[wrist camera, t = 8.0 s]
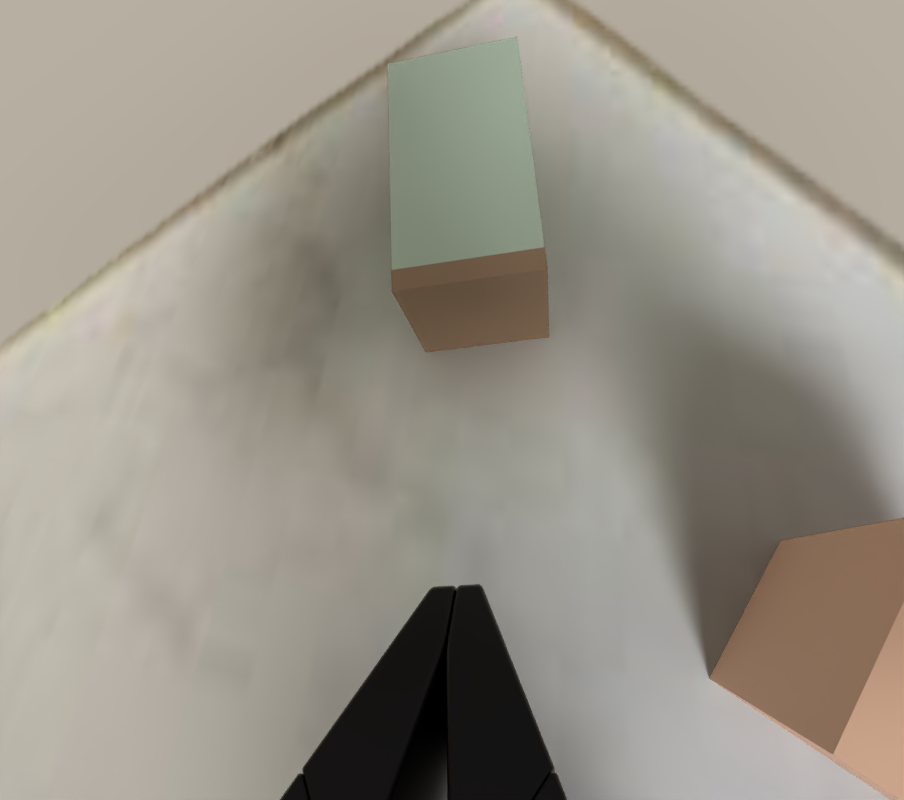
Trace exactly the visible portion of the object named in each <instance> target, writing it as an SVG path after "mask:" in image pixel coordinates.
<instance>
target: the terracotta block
mask: <svg viewBox="0 0 904 800" xmlns="http://www.w3.org/2000/svg"><path fill="white" fill-rule="evenodd" d="M709 679H711V680H712V681H714V682H715V683H717V684H718V685H720V686H721V687H723V688H724V689H726V690H727V691H729V692H730V693H732V694H733V695H735V696H736V697H738V698H739V699H741V700H742V701H744V702H745V703H747V704H748V705H750V706H751V707H753V708H754V709H756V710H757V711H759V712H760V713H762V714H763V715H765V716H766V717H768V718H769V719H771V720H772V721H773V722H775V723H776V724H778V725H779V726H781V727H782V728H784V729H785V730H787V731H788V732H790V733H791V734H793V735H794V736H796V737H797V738H799V739H800V740H802V741H803V742H805V743H806V744H808V745H809V746H811V747H812V748H814V749H815V750H817V751H818V752H820V753H821V754H823V755H824V756H826V757H827V758H829V759H830V760H832V761H833V762H835V763H836V764H838V765H839V766H841V767H842V768H844V769H845V770H847V771H848V772H850V773H851V774H853V775H854V776H856V777H857V778H859V779H860V780H862V781H863V782H865V783H866V784H867V785H869V786H870V787H872V788H873V789H875V790H876V791H878V792H879V793H881V794H883V795H884V796H886V797H887V798H889V799H890V800H904V518H902V519H897V520H891V521H886V522H880V523H875V524H869V525H864V526H858V527H853V528H847V529H842V530H836V531H831V532H825V533H820V534H814V535H809V536H803V537H798V538H792V539H787V540H781V541H780V543H779V545H778V547H777V549H776V551H775V553H774V554H773V556H772V558H771V560H770V562H769V564H768V566H767V568H766V570H765V572H764V574H763V576H762V578H761V579H760V581H759V583H758V585H757V587H756V589H755V591H754V593H753V595H752V597H751V599H750V601H749V603H748V604H747V606H746V608H745V610H744V612H743V614H742V616H741V618H740V620H739V622H738V624H737V626H736V628H735V630H734V631H733V633H732V635H731V637H730V639H729V641H728V643H727V645H726V647H725V649H724V651H723V653H722V655H721V656H720V658H719V660H718V662H717V664H716V666H715V668H714V670H713V672H712V674H711V676H710V678H709Z"/></svg>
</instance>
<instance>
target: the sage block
mask: <svg viewBox="0 0 904 800" xmlns="http://www.w3.org/2000/svg"><path fill="white" fill-rule="evenodd" d="M387 72H388V120H389V169H390V218H391V267H392V292H393V294H394V296H395V298H396V299H397V301H398V303H399V305H400V307H401V308H402V310H403V312H404V314H405V316H406V317H407V319H408V321H409V323H410V325H411V326H412V328H413V330H414V332H415V333H416V335H417V337H418V339H419V341H420V342H421V344H422V346H423V348H424V350H425V351H426V352H432V351H440V350H448V349H456V348H464V347H472V346H480V345H488V344H496V343H504V342H512V341H520V340H528V339H536V338H544V337H549V319H548V272H547V262H546V254H545V247H544V239H543V231H542V224H541V216H540V208H539V200H538V193H537V185H536V177H535V170H534V162H533V154H532V147H531V139H530V131H529V124H528V116H527V108H526V101H525V93H524V85H523V78H522V70H521V62H520V55H519V47H518V39H517V37H513V38H508V39H504V40H499V41H494V42H489V43H485V44H480V45H475V46H470V47H465V48H461V49H456V50H451V51H446V52H441V53H437V54H432V55H427V56H422V57H418V58H413V59H408V60H403V61H398V62H394V63H389V64H387Z"/></svg>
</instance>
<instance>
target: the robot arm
mask: <svg viewBox="0 0 904 800" xmlns="http://www.w3.org/2000/svg"><path fill="white" fill-rule="evenodd" d="M302 771H303V774H301V773H300V774H298V775H297V777H296V778H295V779H294V781H293V782H292V784H291V785H290V786H289V788H288V789H287V791H286V792H285V793H284V795H283V796H282V798H281V799H280V800H567V798H566V796H565V793H564V791H563V788H562V786H561V783H560V780H559V778H558V775H557V774H556V773H555V770H554V766H553V764H552V761H551V758H550V756H549V753H548V751H547V748H546V746H545V743H544V741H543V738H542V736H541V733H540V731H539V728H538V726H537V723H536V721H535V718H534V716H533V713H532V710H531V708H530V705H529V703H528V700H527V698H526V695H525V693H524V690H523V688H522V685H521V683H520V680H519V678H518V675H517V673H516V670H515V668H514V665H513V663H512V660H511V657H510V655H509V652H508V650H507V647H506V645H505V642H504V640H503V637H502V635H501V632H500V630H499V627H498V625H497V622H496V620H495V617H494V615H493V612H492V610H491V607H490V604H489V602H488V599H487V597H486V594H485V592H484V589H483V587H482V586H481V585H479V584H475V585H460V586H458V588H457V589H456V587H454V586H438V587H433V588H431V589H430V590H429V591H428V593H427V594H426V596H425V597H424V598H423V600H422V601H421V603H420V604H419V605H418V607H417V608H416V610H415V611H414V612H413V614H412V615H411V617H410V618H409V619H408V621H407V622H406V624H405V625H404V626H403V628H402V629H401V631H400V632H399V634H398V635H397V636H396V638H395V639H394V641H393V642H392V643H391V645H390V646H389V648H388V649H387V650H386V652H385V653H384V655H383V656H382V657H381V659H380V660H379V662H378V663H377V664H376V666H375V667H374V669H373V670H372V671H371V673H370V674H369V676H368V677H367V679H366V680H365V681H364V683H363V684H362V686H361V687H360V688H359V690H358V691H357V693H356V694H355V695H354V697H353V698H352V700H351V701H350V702H349V704H348V705H347V707H346V708H345V709H344V711H343V712H342V714H341V715H340V716H339V718H338V719H337V721H336V722H335V724H334V725H333V726H332V728H331V729H330V731H329V732H328V733H327V735H326V736H325V738H324V739H323V740H322V742H321V743H320V745H319V746H318V747H317V749H316V750H315V752H314V753H313V754H312V756H311V757H310V759H309V760H308V762H307V763H306V764H305V766H304V767H303V769H302Z"/></svg>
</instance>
